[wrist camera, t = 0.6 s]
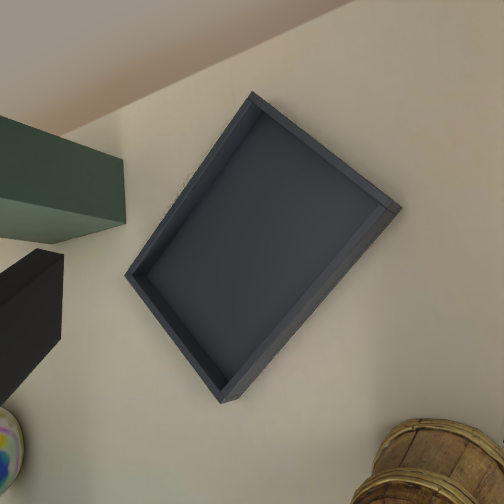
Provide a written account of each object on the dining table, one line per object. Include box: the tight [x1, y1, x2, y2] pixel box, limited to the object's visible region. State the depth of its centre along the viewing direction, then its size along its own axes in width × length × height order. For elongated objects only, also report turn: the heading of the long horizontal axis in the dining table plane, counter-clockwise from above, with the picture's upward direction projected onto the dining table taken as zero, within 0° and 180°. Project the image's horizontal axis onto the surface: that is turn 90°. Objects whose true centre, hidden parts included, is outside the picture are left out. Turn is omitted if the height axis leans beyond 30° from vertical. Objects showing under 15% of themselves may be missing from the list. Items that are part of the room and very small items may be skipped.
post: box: [0, 116, 126, 244], centre depth 44 cm, size 12×7×18 cm, turn 97°
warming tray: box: [124, 91, 402, 404], centre depth 38 cm, size 20×15×3 cm
